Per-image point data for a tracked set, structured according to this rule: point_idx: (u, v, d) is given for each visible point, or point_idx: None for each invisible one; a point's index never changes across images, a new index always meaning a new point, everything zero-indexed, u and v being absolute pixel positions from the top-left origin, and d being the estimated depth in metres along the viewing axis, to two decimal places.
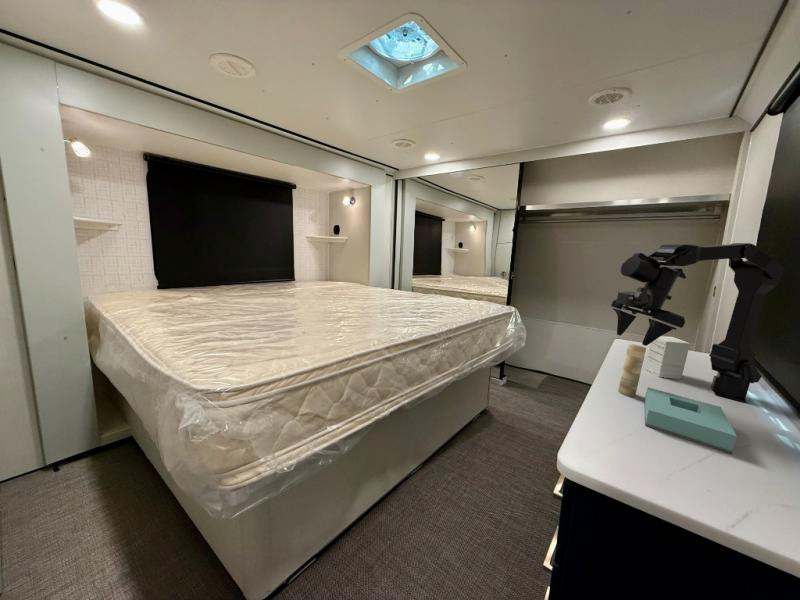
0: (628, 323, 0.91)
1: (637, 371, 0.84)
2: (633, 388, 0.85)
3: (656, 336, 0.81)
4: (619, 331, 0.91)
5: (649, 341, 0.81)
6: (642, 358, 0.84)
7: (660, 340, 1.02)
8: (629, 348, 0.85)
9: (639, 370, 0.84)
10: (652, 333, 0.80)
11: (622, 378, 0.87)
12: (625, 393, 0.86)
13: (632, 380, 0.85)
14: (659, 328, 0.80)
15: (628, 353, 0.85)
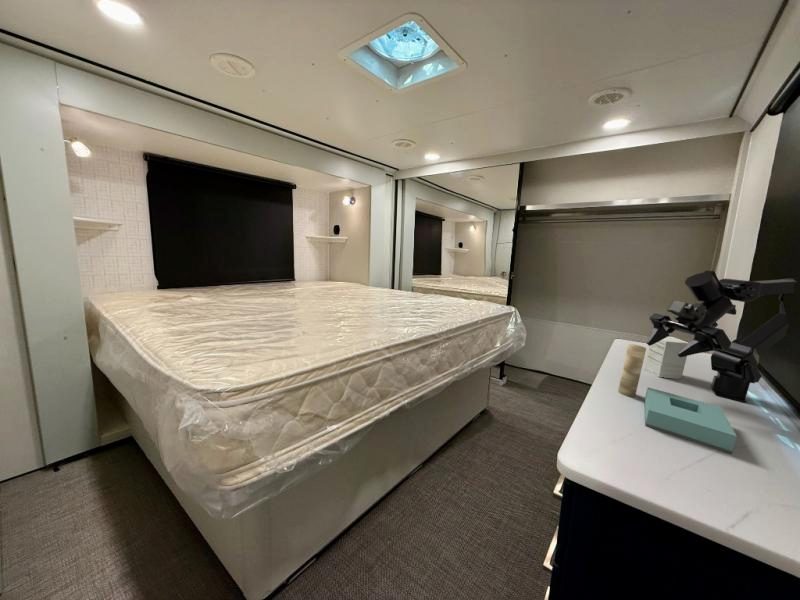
0: (660, 338, 0.91)
1: (637, 371, 0.84)
2: (633, 388, 0.85)
3: (695, 351, 0.80)
4: (650, 341, 0.90)
5: (685, 354, 0.81)
6: (642, 358, 0.84)
7: None
8: (629, 348, 0.85)
9: (639, 370, 0.84)
10: (693, 346, 0.80)
11: (622, 378, 0.87)
12: (625, 393, 0.86)
13: (632, 380, 0.85)
14: (701, 345, 0.80)
15: (628, 353, 0.85)
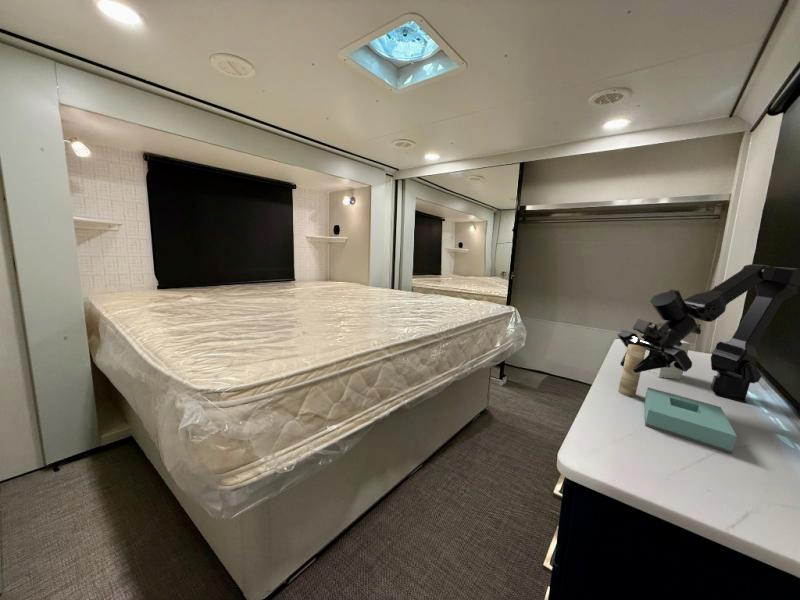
0: None
1: None
2: (633, 388, 0.85)
3: (649, 367, 0.83)
4: None
5: (640, 369, 0.83)
6: (642, 358, 0.84)
7: None
8: (629, 348, 0.85)
9: None
10: (647, 363, 0.82)
11: (622, 378, 0.87)
12: (625, 393, 0.86)
13: (632, 380, 0.85)
14: (655, 361, 0.83)
15: (628, 353, 0.85)
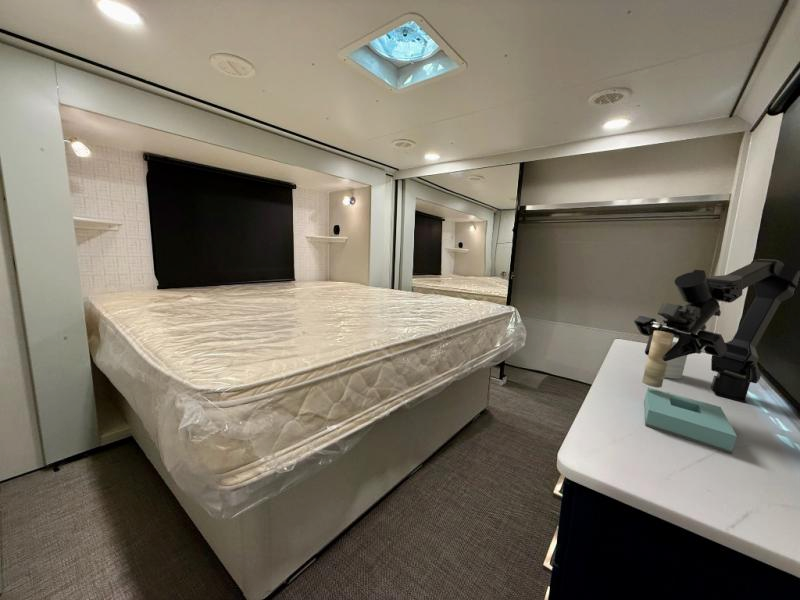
0: None
1: None
2: (661, 378, 0.78)
3: (679, 354, 0.76)
4: (648, 350, 0.81)
5: (670, 357, 0.76)
6: (671, 345, 0.77)
7: None
8: (656, 335, 0.78)
9: None
10: (678, 350, 0.76)
11: (648, 368, 0.80)
12: (652, 384, 0.79)
13: (660, 369, 0.78)
14: (684, 347, 0.76)
15: (655, 340, 0.78)
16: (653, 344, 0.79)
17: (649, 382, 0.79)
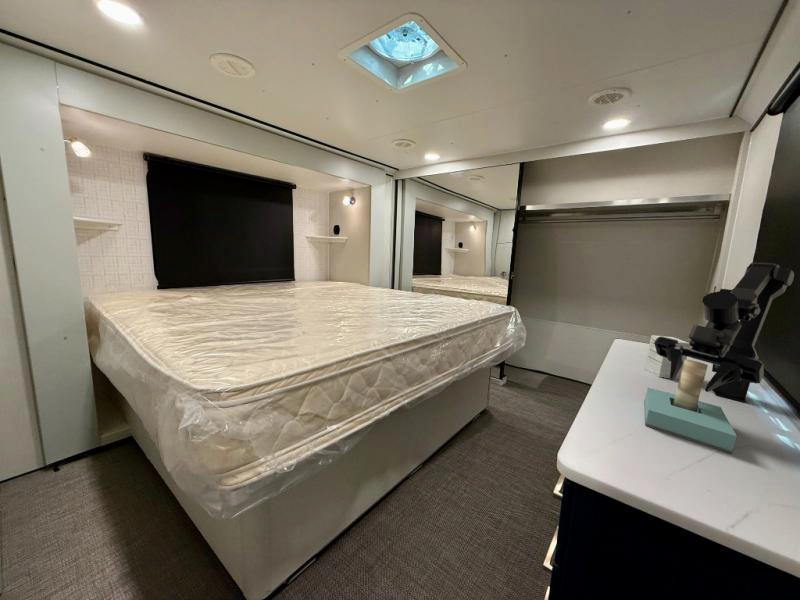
0: (678, 368, 0.77)
1: (700, 391, 0.72)
2: None
3: (720, 383, 0.70)
4: (673, 374, 0.75)
5: (712, 387, 0.69)
6: (704, 376, 0.71)
7: None
8: (690, 366, 0.72)
9: (700, 390, 0.72)
10: (720, 379, 0.69)
11: (680, 401, 0.73)
12: None
13: (694, 403, 0.72)
14: None
15: (689, 371, 0.72)
16: (686, 375, 0.72)
17: None
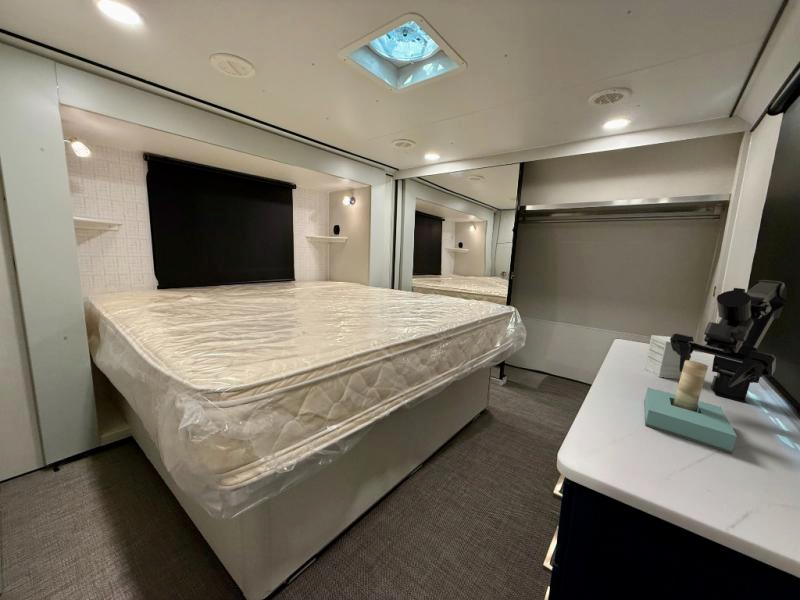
0: None
1: (700, 392, 0.71)
2: None
3: (742, 379, 0.73)
4: None
5: (735, 383, 0.73)
6: (704, 377, 0.71)
7: (660, 340, 1.02)
8: (691, 366, 0.71)
9: (700, 391, 0.72)
10: (743, 374, 0.72)
11: (680, 402, 0.73)
12: None
13: (694, 403, 0.72)
14: None
15: (689, 372, 0.72)
16: (686, 376, 0.72)
17: None
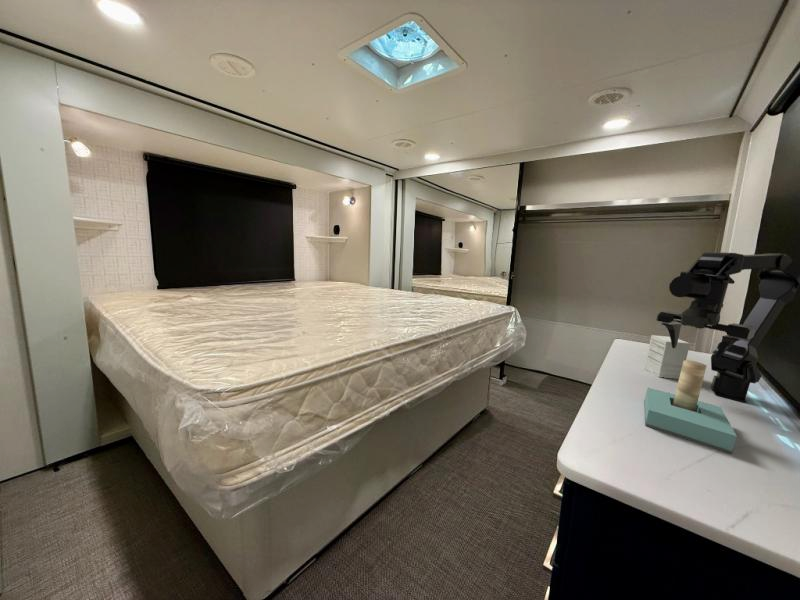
0: (678, 333, 0.90)
1: (699, 392, 0.72)
2: None
3: (727, 348, 0.81)
4: (674, 344, 0.89)
5: (721, 354, 0.81)
6: (703, 376, 0.71)
7: (660, 340, 1.02)
8: (689, 366, 0.72)
9: None
10: (725, 348, 0.80)
11: (680, 402, 0.73)
12: None
13: (694, 403, 0.72)
14: None
15: (688, 372, 0.72)
16: (685, 376, 0.72)
17: None
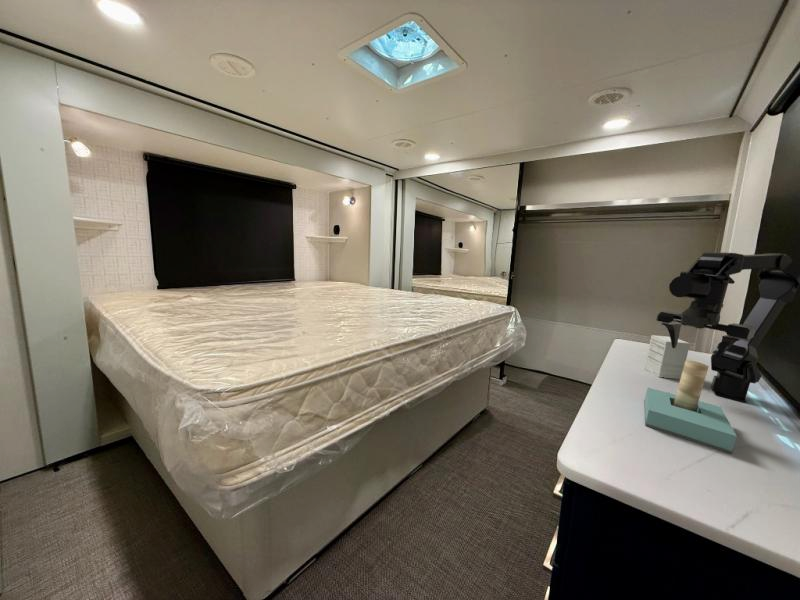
0: (678, 333, 0.90)
1: (700, 392, 0.71)
2: None
3: (727, 348, 0.81)
4: (674, 344, 0.89)
5: (721, 354, 0.81)
6: (705, 377, 0.71)
7: (660, 340, 1.02)
8: (691, 367, 0.71)
9: None
10: (725, 348, 0.80)
11: (680, 402, 0.73)
12: None
13: (694, 404, 0.72)
14: None
15: (690, 373, 0.71)
16: (687, 377, 0.72)
17: None
